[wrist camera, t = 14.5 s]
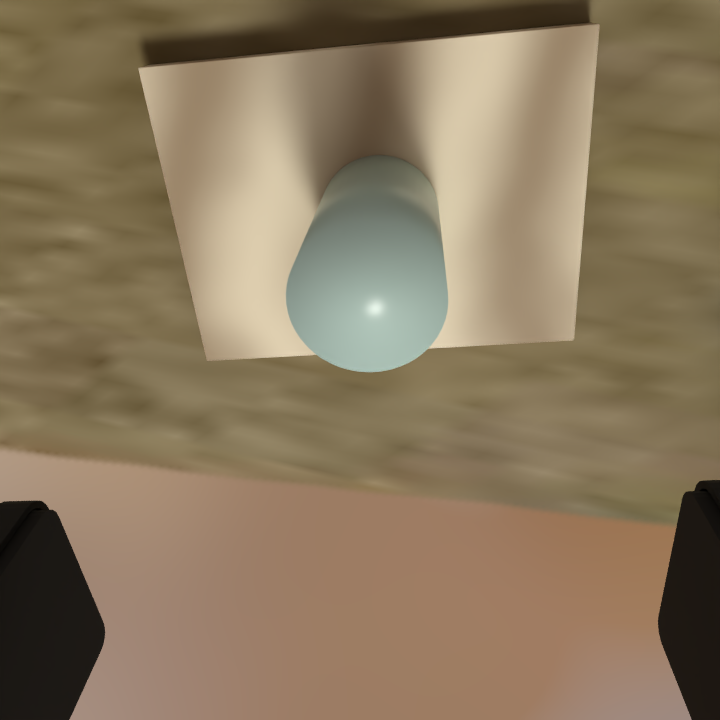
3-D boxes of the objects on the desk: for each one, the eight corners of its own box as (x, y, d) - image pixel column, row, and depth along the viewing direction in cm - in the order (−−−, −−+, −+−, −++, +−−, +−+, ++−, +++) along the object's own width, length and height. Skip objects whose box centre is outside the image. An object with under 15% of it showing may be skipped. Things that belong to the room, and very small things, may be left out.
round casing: (439, 152, 24) (449, 221, 17) (438, 269, 26) (447, 371, 19) (315, 157, 24) (276, 225, 17) (325, 271, 27) (294, 372, 20)
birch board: (590, 22, 23) (599, 24, 22) (567, 327, 29) (573, 340, 28) (149, 64, 24) (138, 67, 23) (213, 348, 30) (206, 360, 29)
